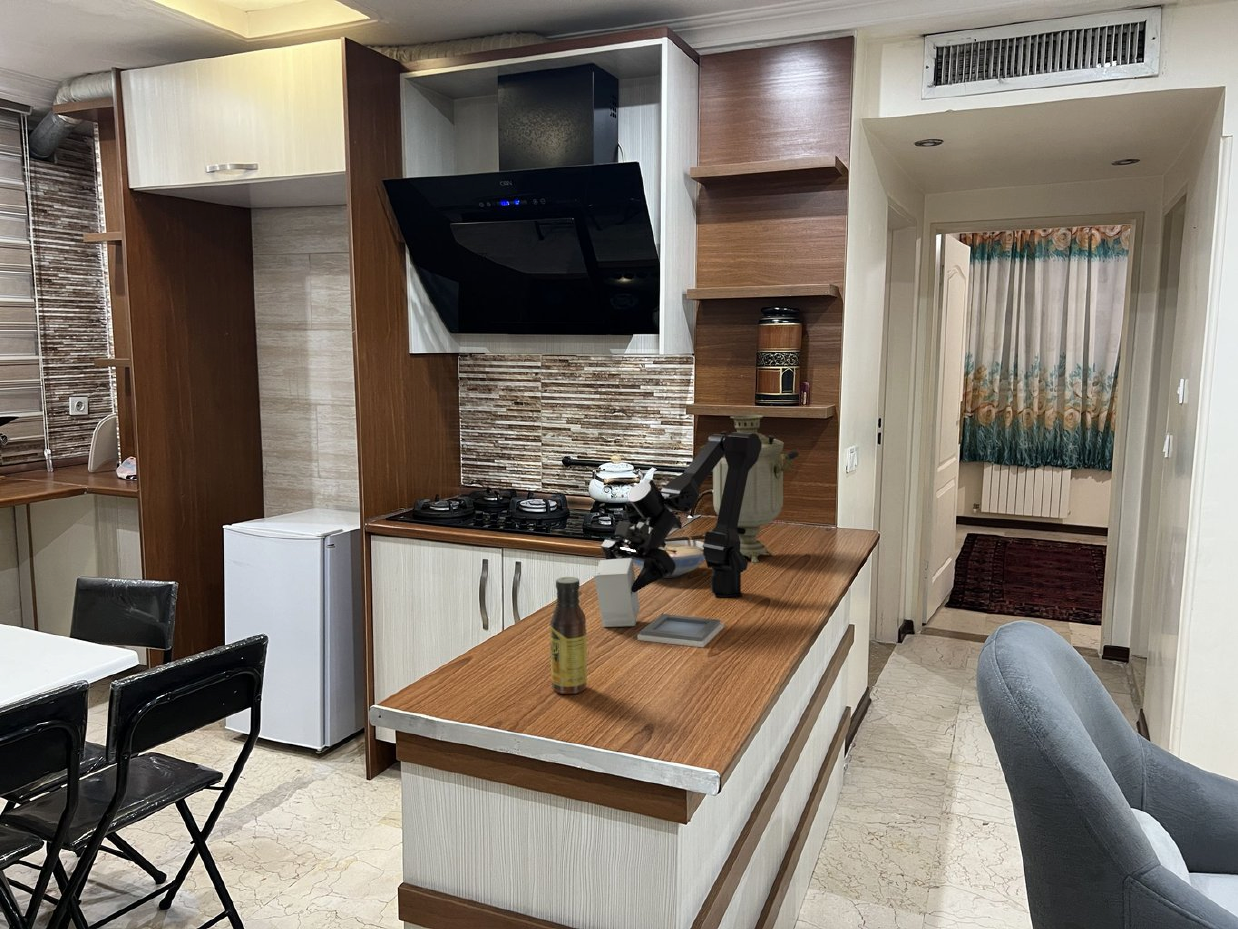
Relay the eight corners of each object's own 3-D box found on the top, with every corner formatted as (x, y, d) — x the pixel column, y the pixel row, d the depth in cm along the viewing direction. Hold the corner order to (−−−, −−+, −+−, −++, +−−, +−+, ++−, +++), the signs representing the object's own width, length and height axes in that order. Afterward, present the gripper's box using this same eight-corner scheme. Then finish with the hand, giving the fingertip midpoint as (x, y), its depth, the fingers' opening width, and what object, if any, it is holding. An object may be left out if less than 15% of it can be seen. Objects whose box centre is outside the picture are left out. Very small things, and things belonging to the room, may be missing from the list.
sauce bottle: (551, 683, 165) (548, 574, 162) (586, 682, 165) (584, 573, 163) (551, 697, 158) (549, 584, 156) (588, 696, 159) (586, 582, 156)
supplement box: (636, 626, 196) (627, 574, 192) (602, 627, 198) (592, 575, 193) (641, 608, 203) (632, 557, 198) (608, 609, 205) (599, 559, 200)
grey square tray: (661, 621, 202) (661, 613, 202) (723, 627, 197) (723, 619, 196) (637, 639, 189) (637, 631, 189) (703, 647, 184) (703, 638, 184)
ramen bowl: (634, 589, 229) (634, 556, 228) (610, 568, 251) (610, 538, 250) (728, 581, 236) (728, 549, 235) (697, 561, 258) (697, 532, 257)
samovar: (826, 558, 259) (828, 415, 254) (756, 572, 244) (757, 420, 239) (753, 541, 283) (754, 410, 278) (686, 553, 269) (685, 415, 264)
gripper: (607, 503, 207) (569, 557, 201) (667, 512, 194) (628, 571, 187) (632, 534, 213) (595, 588, 207) (692, 546, 200) (654, 604, 193)
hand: (617, 587), depth 198 cm, fingers closed on supplement box, 9 cm apart
